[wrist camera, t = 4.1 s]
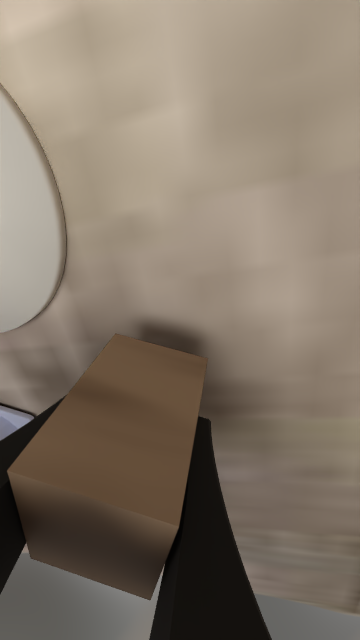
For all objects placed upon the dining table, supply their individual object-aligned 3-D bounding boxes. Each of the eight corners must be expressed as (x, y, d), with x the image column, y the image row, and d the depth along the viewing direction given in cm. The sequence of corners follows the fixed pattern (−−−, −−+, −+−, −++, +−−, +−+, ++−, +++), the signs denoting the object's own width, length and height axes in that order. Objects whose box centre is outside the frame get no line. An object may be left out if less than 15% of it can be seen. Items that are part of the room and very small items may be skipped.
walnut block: (184, 435, 13) (150, 600, 8) (110, 413, 14) (30, 558, 8) (207, 358, 11) (179, 526, 6) (115, 333, 11) (7, 470, 6)
